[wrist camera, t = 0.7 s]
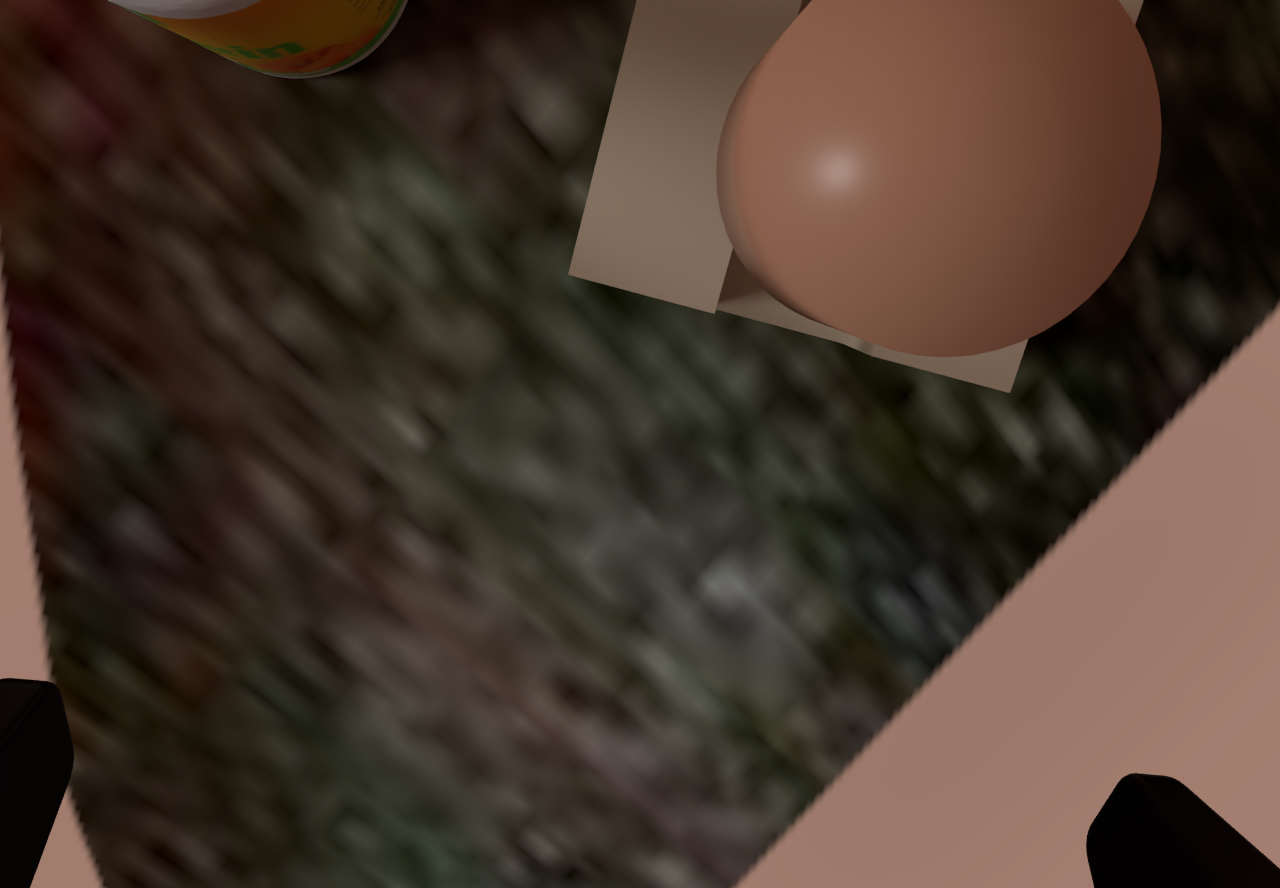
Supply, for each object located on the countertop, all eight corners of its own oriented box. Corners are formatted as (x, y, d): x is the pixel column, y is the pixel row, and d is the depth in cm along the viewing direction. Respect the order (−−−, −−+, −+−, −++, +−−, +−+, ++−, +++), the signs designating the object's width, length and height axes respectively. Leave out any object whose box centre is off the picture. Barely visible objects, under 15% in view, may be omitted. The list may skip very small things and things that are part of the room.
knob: (890, 337, 22) (1078, 400, 13) (662, 275, 21) (703, 299, 13) (966, 97, 21) (1222, -4, 12) (728, 26, 20) (822, -128, 12)
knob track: (942, 367, 24) (1009, 392, 20) (574, 268, 23) (567, 274, 19) (1070, -26, 22) (1171, -83, 18) (678, -147, 21) (695, -234, 17)
